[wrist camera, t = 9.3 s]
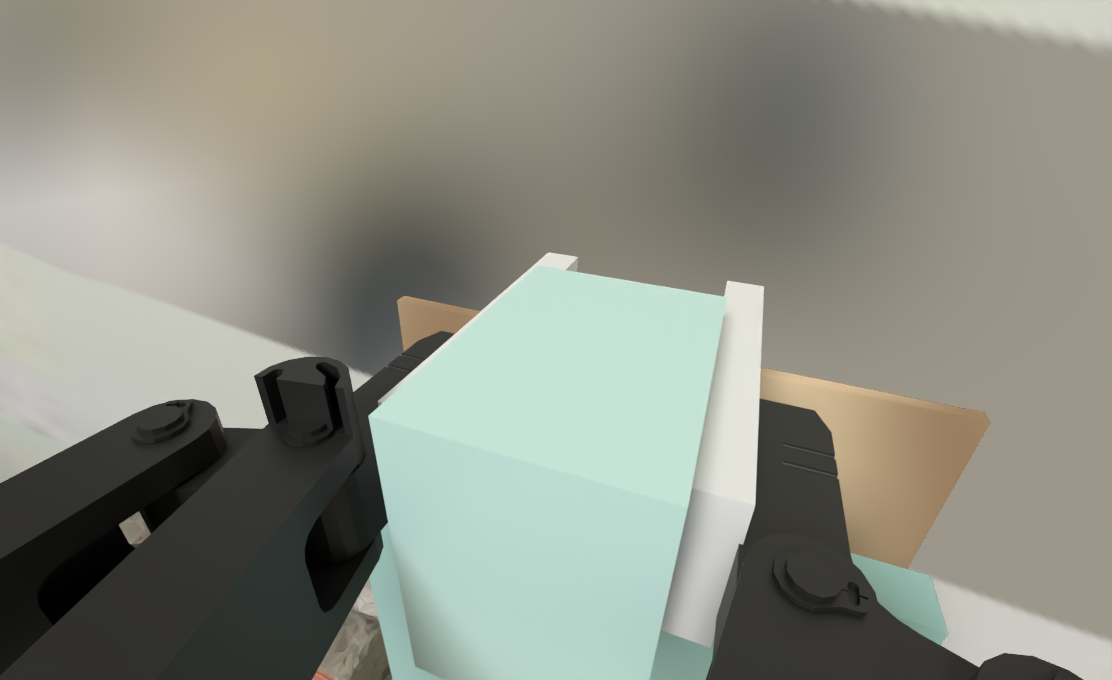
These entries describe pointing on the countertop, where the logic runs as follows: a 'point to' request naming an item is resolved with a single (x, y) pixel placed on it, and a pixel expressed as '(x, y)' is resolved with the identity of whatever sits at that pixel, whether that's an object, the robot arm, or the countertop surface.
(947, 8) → the countertop surface
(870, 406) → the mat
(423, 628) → the lid
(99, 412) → the countertop surface
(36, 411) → the countertop surface
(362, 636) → the packaged product
